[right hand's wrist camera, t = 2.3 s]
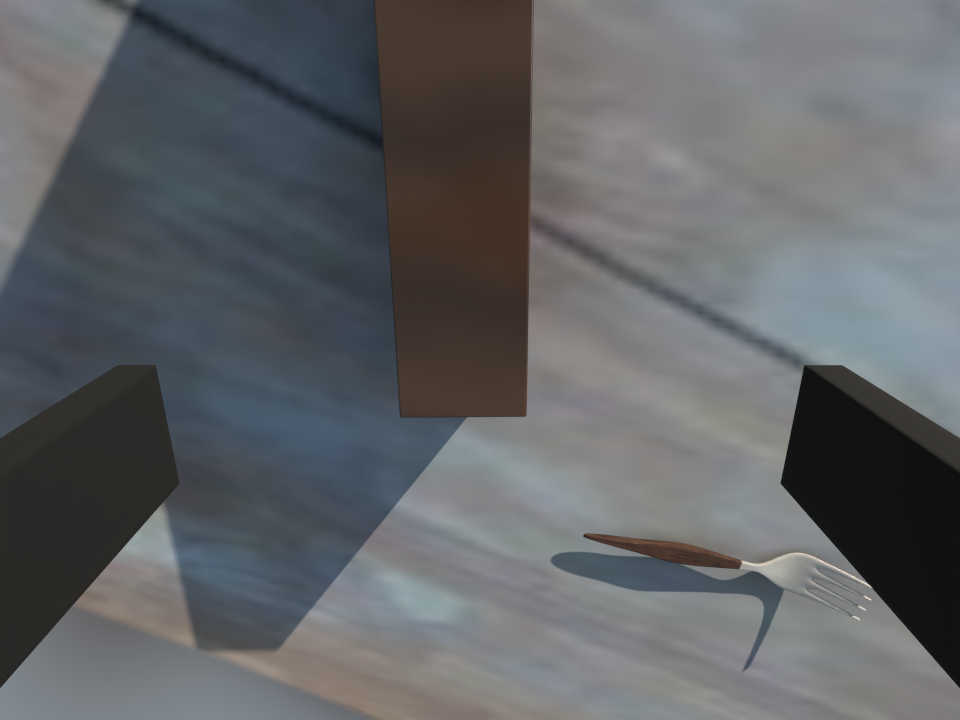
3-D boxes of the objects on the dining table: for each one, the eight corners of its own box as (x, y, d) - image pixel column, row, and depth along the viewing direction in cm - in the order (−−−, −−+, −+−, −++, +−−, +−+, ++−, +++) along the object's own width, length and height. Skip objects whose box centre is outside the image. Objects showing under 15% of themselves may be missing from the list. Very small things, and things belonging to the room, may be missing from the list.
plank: (516, 357, 30) (526, 417, 23) (417, 358, 30) (399, 418, 24) (526, -494, 20) (548, -811, 13) (375, -491, 20) (322, -805, 13)
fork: (588, 509, 33) (595, 532, 31) (857, 562, 34) (880, 587, 32) (576, 548, 34) (581, 572, 32) (838, 598, 35) (858, 624, 33)
